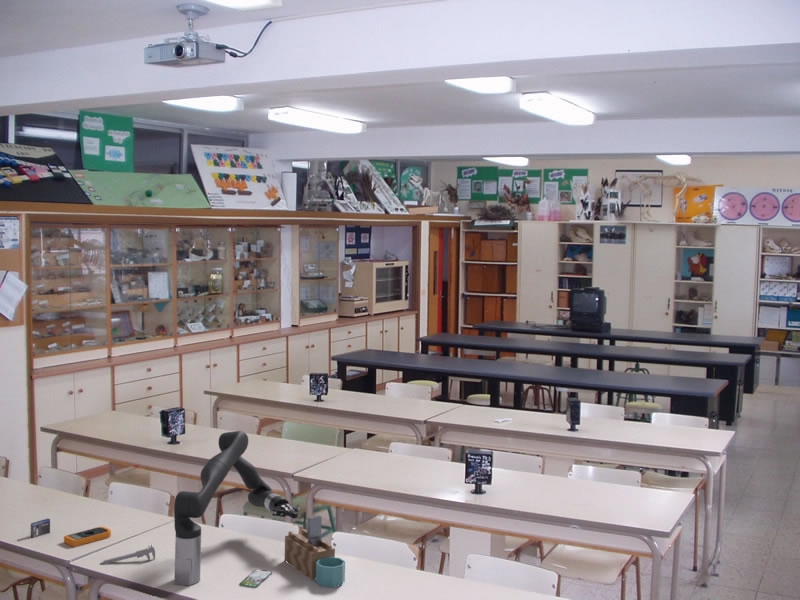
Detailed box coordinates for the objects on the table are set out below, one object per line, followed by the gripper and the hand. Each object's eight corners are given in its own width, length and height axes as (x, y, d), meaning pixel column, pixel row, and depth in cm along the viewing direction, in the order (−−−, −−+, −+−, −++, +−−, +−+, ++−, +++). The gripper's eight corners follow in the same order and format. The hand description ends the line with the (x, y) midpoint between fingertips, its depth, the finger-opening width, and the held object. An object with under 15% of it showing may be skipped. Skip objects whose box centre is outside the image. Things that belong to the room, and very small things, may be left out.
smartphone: (237, 584, 294) (255, 568, 309) (237, 587, 295) (255, 571, 309) (256, 587, 293) (273, 571, 307) (256, 590, 293) (273, 574, 307)
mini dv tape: (32, 538, 336) (33, 524, 336) (30, 537, 337) (30, 523, 337) (49, 532, 343) (50, 519, 343) (47, 532, 344) (47, 518, 344)
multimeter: (113, 537, 341) (113, 529, 341) (73, 548, 327) (73, 540, 327) (102, 532, 346) (102, 525, 346) (62, 543, 332) (62, 535, 332)
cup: (311, 579, 302) (312, 560, 302) (334, 574, 308) (335, 555, 308) (325, 589, 294) (325, 569, 293) (348, 583, 300) (349, 563, 299)
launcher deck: (284, 560, 320) (285, 532, 320) (306, 556, 326) (307, 528, 326) (311, 579, 302) (312, 549, 302) (334, 574, 308) (335, 544, 308)
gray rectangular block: (307, 544, 310) (307, 516, 310) (318, 542, 313) (319, 514, 313) (310, 547, 308) (311, 519, 307) (322, 544, 311) (322, 517, 310)
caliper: (155, 559, 318) (155, 544, 317) (155, 560, 317) (155, 544, 316) (100, 563, 311) (100, 547, 311) (100, 564, 310) (100, 548, 310)
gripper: (262, 497, 333) (281, 509, 319) (290, 493, 341) (310, 504, 327) (262, 515, 334) (280, 527, 319) (290, 510, 341) (310, 522, 327)
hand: (295, 516), depth 323 cm, fingers closed
